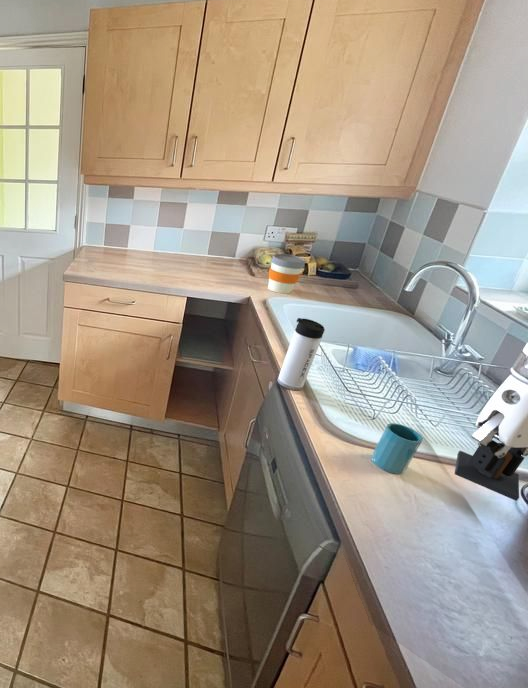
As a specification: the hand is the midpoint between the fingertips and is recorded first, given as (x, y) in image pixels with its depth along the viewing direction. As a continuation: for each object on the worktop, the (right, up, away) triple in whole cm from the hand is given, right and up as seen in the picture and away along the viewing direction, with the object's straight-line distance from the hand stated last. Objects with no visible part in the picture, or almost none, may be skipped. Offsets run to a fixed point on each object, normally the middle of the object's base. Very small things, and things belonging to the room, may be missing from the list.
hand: (489, 469), depth 66 cm
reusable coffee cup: (+43, +33, +121) cm, 132 cm away
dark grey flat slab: (0, -1, +1) cm, 1 cm away
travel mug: (+3, +3, +53) cm, 53 cm away
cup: (+7, -9, +26) cm, 28 cm away
